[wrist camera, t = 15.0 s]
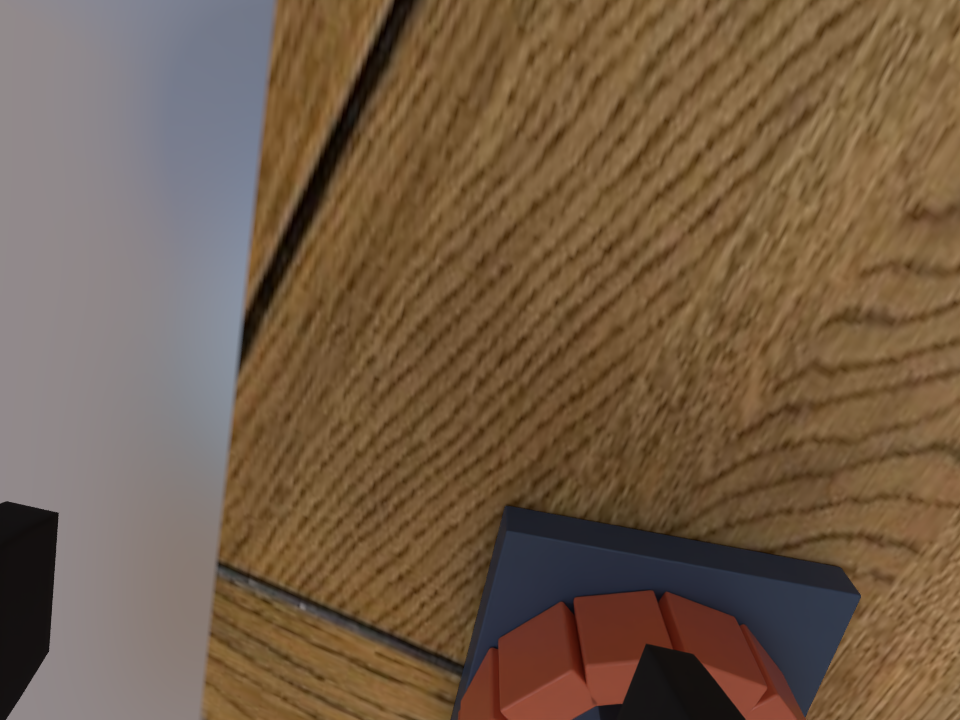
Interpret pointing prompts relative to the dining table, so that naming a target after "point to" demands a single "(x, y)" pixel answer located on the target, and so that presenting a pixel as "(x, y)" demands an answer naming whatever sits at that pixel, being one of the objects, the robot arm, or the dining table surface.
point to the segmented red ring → (619, 659)
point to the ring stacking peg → (662, 590)
